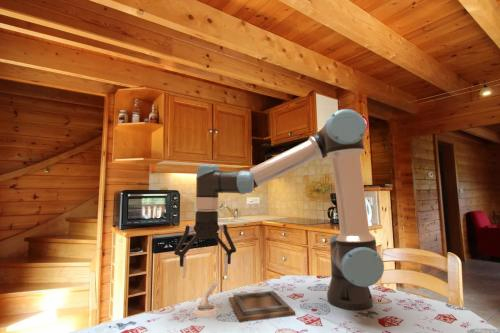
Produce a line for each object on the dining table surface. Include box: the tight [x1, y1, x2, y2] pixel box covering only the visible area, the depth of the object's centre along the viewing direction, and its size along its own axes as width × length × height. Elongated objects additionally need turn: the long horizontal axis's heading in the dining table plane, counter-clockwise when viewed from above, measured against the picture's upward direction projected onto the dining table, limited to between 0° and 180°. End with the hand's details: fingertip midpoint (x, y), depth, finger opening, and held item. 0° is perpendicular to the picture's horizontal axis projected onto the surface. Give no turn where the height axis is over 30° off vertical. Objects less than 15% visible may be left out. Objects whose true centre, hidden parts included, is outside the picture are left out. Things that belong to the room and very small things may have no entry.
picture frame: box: [228, 290, 296, 323], centre depth 92 cm, size 18×18×2 cm
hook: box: [193, 280, 219, 318], centre depth 88 cm, size 8×12×7 cm
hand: (205, 275), depth 90 cm, fingers open, 13 cm apart
